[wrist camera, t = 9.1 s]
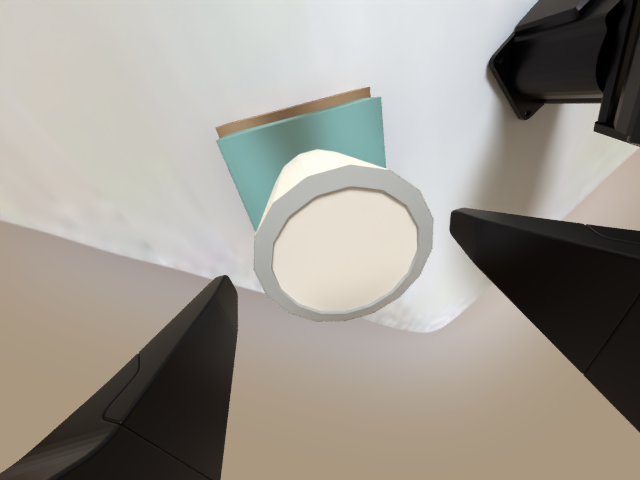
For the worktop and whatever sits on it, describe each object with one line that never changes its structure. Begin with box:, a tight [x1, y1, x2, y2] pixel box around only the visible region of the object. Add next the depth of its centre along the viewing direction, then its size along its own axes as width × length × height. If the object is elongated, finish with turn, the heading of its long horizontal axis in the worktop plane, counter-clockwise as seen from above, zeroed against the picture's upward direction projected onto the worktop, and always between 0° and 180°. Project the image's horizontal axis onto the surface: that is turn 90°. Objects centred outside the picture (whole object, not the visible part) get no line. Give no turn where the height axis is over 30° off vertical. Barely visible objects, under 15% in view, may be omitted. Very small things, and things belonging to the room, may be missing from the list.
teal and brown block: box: [216, 87, 386, 232], centre depth 17 cm, size 10×10×6 cm
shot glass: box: [254, 149, 433, 321], centre depth 12 cm, size 7×7×7 cm
